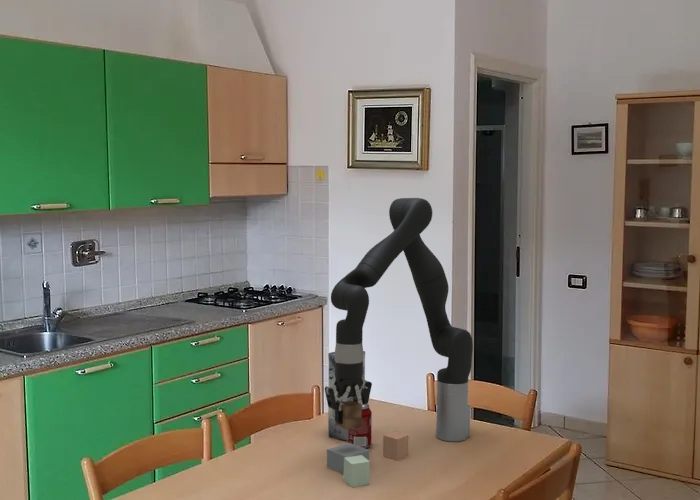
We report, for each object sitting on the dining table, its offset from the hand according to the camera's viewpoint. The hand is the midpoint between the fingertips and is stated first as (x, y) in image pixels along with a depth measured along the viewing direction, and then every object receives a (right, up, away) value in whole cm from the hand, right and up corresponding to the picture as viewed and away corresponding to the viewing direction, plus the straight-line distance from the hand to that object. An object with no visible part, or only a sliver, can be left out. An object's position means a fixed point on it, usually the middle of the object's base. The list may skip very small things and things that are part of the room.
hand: (348, 421), depth 209 cm
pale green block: (+2, -13, -9) cm, 16 cm away
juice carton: (-1, -10, +27) cm, 29 cm away
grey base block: (0, -13, +1) cm, 13 cm away
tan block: (+13, -12, +10) cm, 20 cm away
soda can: (+3, -11, +18) cm, 21 cm away
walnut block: (0, -1, 0) cm, 1 cm away
